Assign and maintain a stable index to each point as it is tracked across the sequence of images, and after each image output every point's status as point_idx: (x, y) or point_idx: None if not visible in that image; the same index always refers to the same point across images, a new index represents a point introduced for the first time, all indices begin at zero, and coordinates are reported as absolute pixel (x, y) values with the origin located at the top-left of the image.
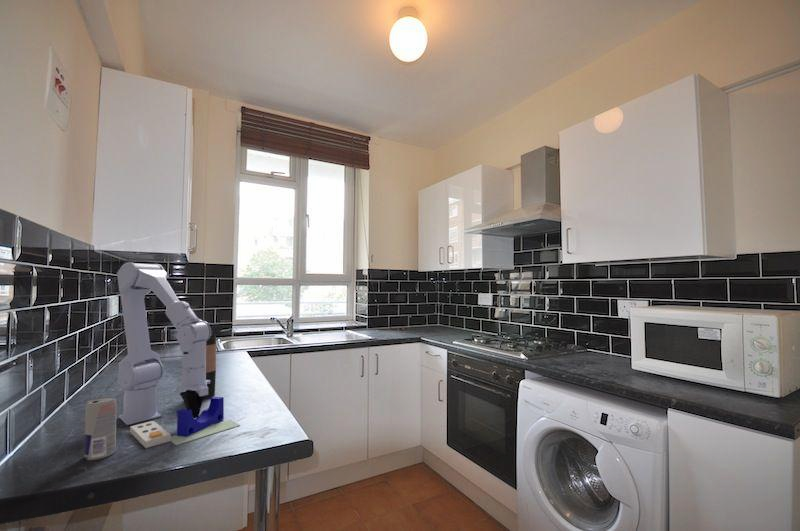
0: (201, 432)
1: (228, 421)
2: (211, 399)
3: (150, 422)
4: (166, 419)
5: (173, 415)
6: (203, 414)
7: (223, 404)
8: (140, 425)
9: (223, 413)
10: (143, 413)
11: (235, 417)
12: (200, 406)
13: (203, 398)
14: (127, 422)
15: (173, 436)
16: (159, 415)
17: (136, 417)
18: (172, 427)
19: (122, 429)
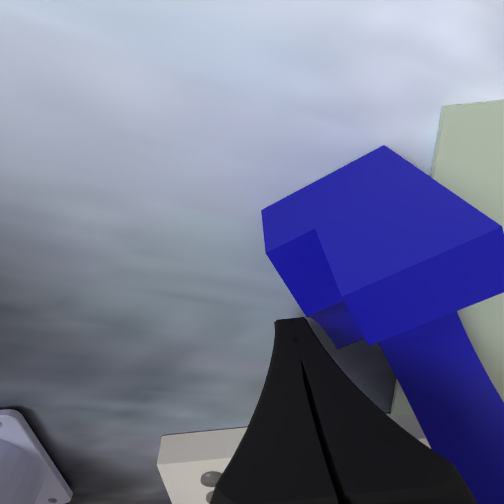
0: (484, 312)
1: (474, 133)
2: (380, 331)
3: (178, 472)
4: (78, 390)
5: (15, 359)
6: (343, 307)
7: (445, 188)
8: (194, 495)
9: (403, 159)
10: (23, 499)
11: (414, 34)
12: (342, 372)
13: (399, 429)
14: (48, 500)
15: (400, 401)
16: (12, 421)
17: (35, 499)
18: (248, 385)
19: (114, 499)
